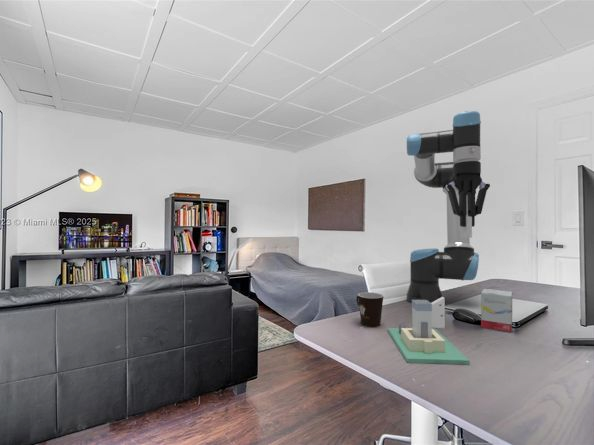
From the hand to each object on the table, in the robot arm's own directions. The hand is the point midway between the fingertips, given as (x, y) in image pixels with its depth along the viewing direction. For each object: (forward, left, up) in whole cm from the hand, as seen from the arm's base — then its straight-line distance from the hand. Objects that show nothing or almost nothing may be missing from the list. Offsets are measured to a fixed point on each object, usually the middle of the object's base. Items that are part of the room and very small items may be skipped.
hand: (467, 237), depth 94 cm
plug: (+12, -18, -29) cm, 37 cm away
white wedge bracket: (-7, -8, -31) cm, 32 cm away
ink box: (-8, +13, -31) cm, 34 cm away
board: (+10, -17, -30) cm, 36 cm away
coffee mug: (-9, -29, -31) cm, 43 cm away
